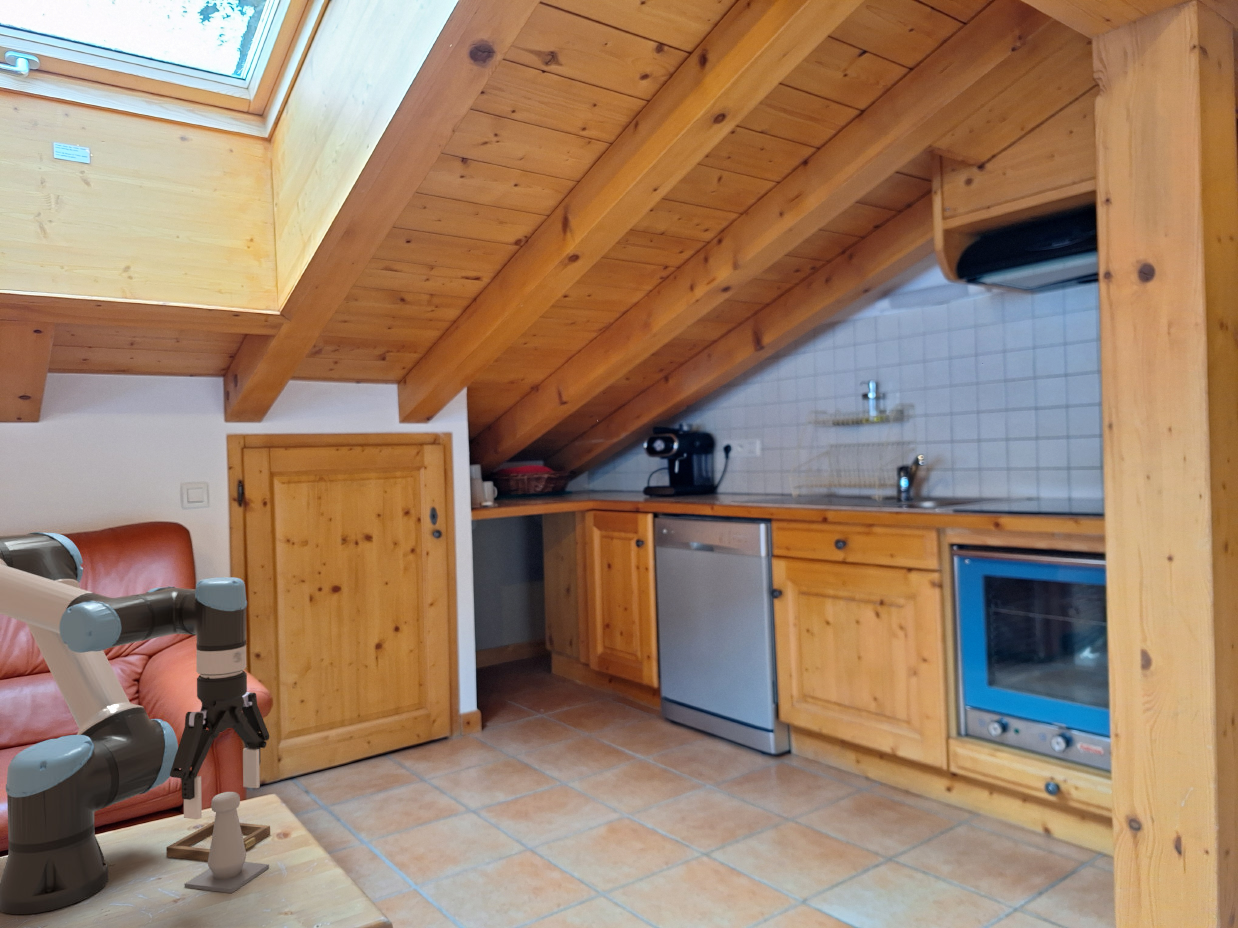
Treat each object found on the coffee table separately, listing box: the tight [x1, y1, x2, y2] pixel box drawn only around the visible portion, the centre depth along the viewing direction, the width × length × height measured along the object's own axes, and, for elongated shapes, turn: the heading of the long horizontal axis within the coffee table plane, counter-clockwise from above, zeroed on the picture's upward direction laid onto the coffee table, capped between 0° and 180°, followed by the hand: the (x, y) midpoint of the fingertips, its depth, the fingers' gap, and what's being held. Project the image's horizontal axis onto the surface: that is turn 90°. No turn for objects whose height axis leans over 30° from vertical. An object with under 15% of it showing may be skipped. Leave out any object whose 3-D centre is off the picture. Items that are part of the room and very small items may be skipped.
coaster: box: [184, 861, 270, 894], centre depth 145 cm, size 9×9×1 cm
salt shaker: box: [207, 791, 247, 879], centre depth 145 cm, size 6×6×13 cm
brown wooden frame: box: [165, 820, 271, 862], centre depth 158 cm, size 13×12×2 cm
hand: (223, 801), depth 145 cm, fingers open, 13 cm apart
